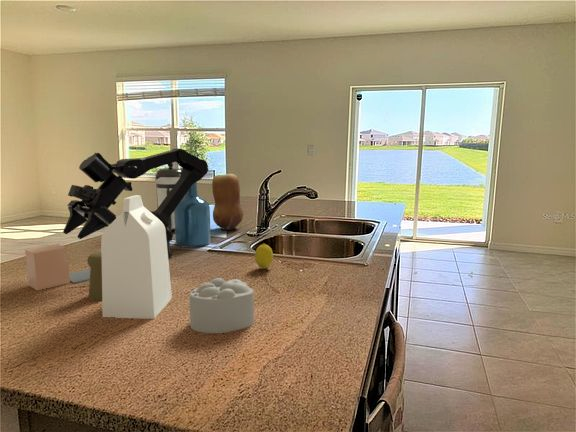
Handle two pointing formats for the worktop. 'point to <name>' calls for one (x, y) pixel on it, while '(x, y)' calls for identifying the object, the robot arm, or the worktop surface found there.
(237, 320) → the lumpy-topped squat cylinder
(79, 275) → the coaster
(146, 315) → the milk
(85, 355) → the worktop surface
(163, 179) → the coffee press
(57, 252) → the pink rectangular block
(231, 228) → the butternut squash
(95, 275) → the cork
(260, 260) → the lemon
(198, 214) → the wine bottle
